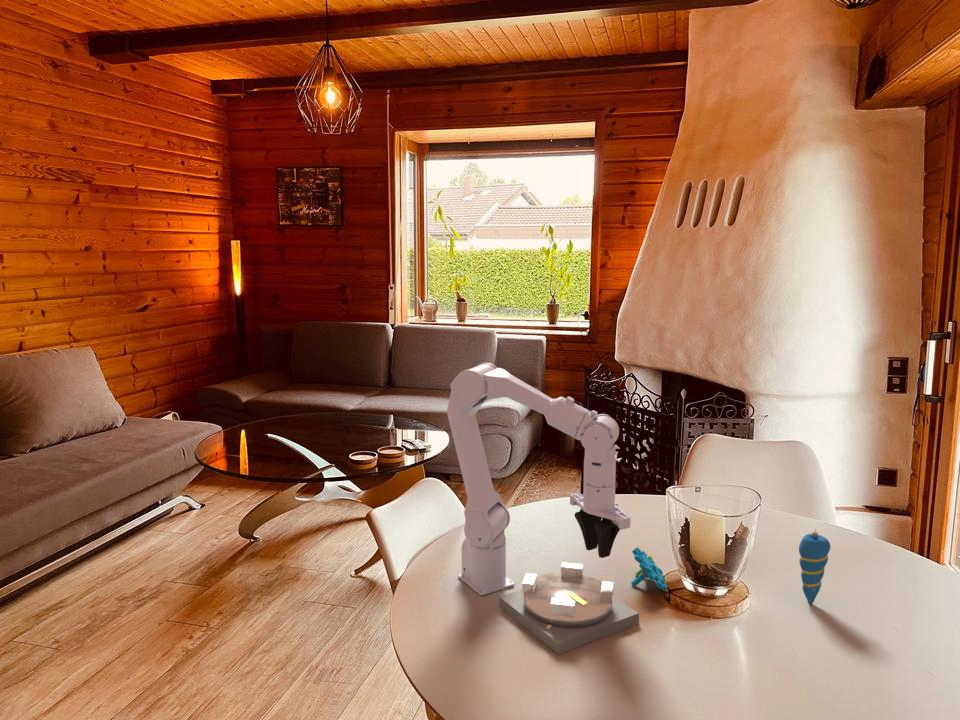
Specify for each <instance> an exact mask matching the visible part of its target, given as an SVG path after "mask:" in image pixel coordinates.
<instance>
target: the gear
mask: <svg viewBox="0 0 960 720" xmlns="http://www.w3.org/2000/svg"><path fill="white" fill-rule="evenodd" d="M631 553H632V554H633V555H634V556H633V559H634V560H635V562H638V563H639V565H638V566H639V568H640V569H639V570H638V571H636V572H635V576H636V578H635V579H634V580H633V581H631V582H630V583H631V585H632V587H634V588H635V587H636V586H638V584H640V583H641V582H642V581H644V580H645V579H648V578H649V580H650V581H655V586H656V587H657V588H658V589H659V590H663V591H664V592H665V590H666V589H667V586H666V584H665V582H664V581H665V579H664V578H665V577H666V576H665V575H664V572H663V570H662V569H661V568H660V567H658V566H657V564H656V562H655V561H654V557H652V555H648V554H647V553H646V552H645V551H644V550H641V549H640V548H639V547H638V546H637V547H636V548H634V549H633V550H632V551H631Z"/></svg>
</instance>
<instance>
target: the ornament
mask: <svg viewBox="0 0 960 720" xmlns="http://www.w3.org/2000/svg"><path fill="white" fill-rule="evenodd" d="M830 551H831V543H830V541H829V539H827V537H825V536H822V535H819V532H818V531H816V528H815V530H814V531H812V533H807V534H805V535H804V536H803V537H802V539H801V540H800V542H799V545H798V552H799V555H800V557H799V565H800V568H801V573H800V576H801V580H802V591H803V594H804V596H805V599H806V600H807V604H809V605H813V604H814V602H815V599H816V598H817V596H818V594H819V592H820V590H821V587H822V579H823V577H824V575H825V568H826V565H827V564H828V562H829V556H828V555H829V553H830Z"/></svg>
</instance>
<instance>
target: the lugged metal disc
mask: <svg viewBox="0 0 960 720" xmlns="http://www.w3.org/2000/svg"><path fill="white" fill-rule="evenodd" d="M521 585H522V589H521V590H522V593H524V606H525V608H526V610H527V611H528V613H530V614H531V615H532V616H533V617H535V618H536V619H538V620H540V621H543V622H545V623H548V624H552V625H556V626H563V627H582V626H589V625H593V624H596V623H598V622H601V621H602V620H604V619H606V618H607V617H608V616H609V615H610V613H611V611H612V597H614V581H613V582H612V581H605V580H602V581H600V579H597V578H595V577H591V576H589V575H586V574H584V564H583V563H575V562H574V563H573V562H572V563H571V562H565V561H564V562H561V566H560V572H552V573H551V572H550V573H546V574H542V575H539V576H538V574H537V573H531V572H530V573H528V572H526V573H525V575H524V578H523V581H522V584H521Z"/></svg>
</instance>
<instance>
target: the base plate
mask: <svg viewBox="0 0 960 720" xmlns="http://www.w3.org/2000/svg"><path fill="white" fill-rule="evenodd" d="M498 597H499V602H498V603H499V606H498V607H499V608H500V609H502V610H503V611H504V612H505V613H507V614H508V615H509V617H511V618H513V619H514V620H515V621H516V622H518V623H519V624H520V625H521V626H522V627H524V628H525V629H526V630H528V631H529V632H530V633H531V634H532V635H534V636H535V637H536V638H537V639H538V640H540V641H541V642H542V643H544V644H545V645H546V646H547V647H548V648H549V649H551V650H552V651H553V652H554V653H556V654H557V655H560V654H563V653H566V652H568V651H571V650H573V649H576V648H578V647H581V646H584V645H586V644H590V643H592V642H595V641H597V640H600V639H602V638H604V637H607V636H610V635H613V634H615V633H618V632H621V631H622V630H626V629H627V628H630V627H634V626H636V625H638V624H640V623H639V622H640V612H638V611H637V610H635V609H633V608H632V607H630V606H629V605H628V604H625V603H624V602H622V601H620V600H619V599H618V598H616V597H614V596H613V597H612V611H611V613H610V615H609V616H608V617H607V618H606V619H604V620H602V621H601V622H598V623H596V624H593V625H589V626H582V627H563V626H556V625H552V624H548V623H545V622H543V621H540V620H538V619H536V618H535V617H533V616H532V615H531V614H530V613H528V611H527V610H526V608H525V606H524V593H522V589H520V590H517V591H513V592H511V593H506V594H504V595H502V596H498Z"/></svg>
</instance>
